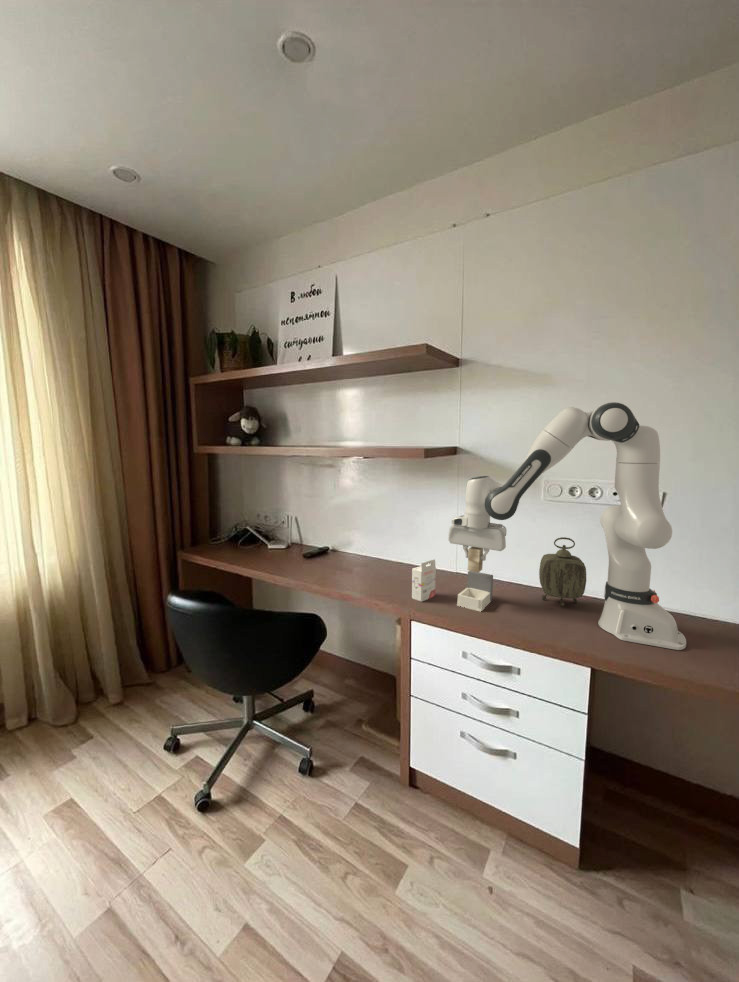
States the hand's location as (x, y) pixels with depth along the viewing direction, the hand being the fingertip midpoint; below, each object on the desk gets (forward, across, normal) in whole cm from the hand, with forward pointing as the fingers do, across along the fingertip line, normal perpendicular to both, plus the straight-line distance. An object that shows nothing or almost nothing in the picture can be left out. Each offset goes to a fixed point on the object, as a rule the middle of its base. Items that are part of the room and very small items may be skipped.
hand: (475, 558), depth 141 cm
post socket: (+17, 0, 0) cm, 17 cm away
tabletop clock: (+17, -26, -19) cm, 37 cm away
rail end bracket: (+4, 0, 0) cm, 4 cm away
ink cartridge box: (+17, +18, +5) cm, 25 cm away
